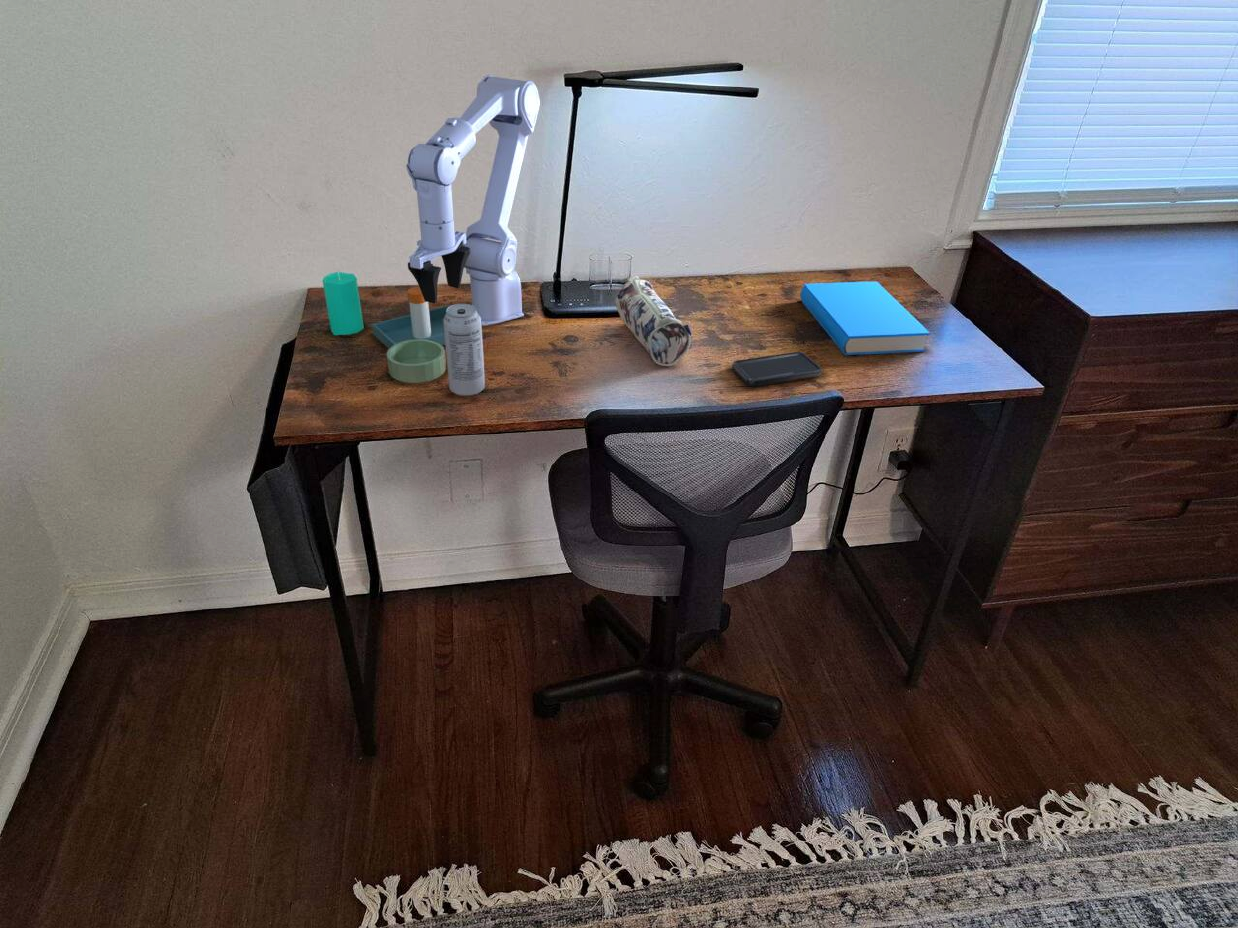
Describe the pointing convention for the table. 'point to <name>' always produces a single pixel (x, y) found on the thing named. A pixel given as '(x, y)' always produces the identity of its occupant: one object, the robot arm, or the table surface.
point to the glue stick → (419, 314)
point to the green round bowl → (416, 361)
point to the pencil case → (652, 322)
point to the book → (863, 318)
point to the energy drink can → (464, 349)
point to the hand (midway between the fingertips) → (442, 294)
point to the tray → (410, 328)
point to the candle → (343, 303)
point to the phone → (776, 368)
